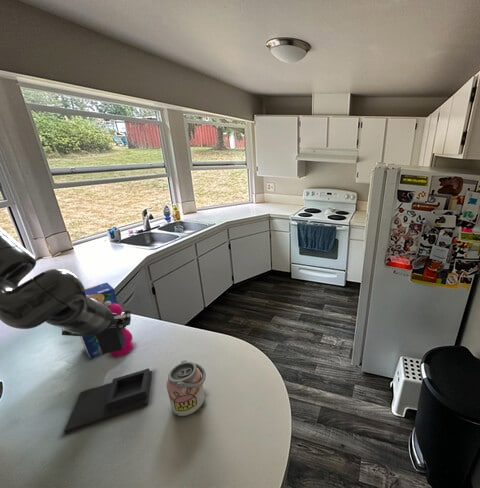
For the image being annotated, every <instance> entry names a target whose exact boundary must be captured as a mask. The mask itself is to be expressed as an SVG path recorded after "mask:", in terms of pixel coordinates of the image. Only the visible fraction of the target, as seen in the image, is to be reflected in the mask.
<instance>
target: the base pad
mask: <svg viewBox="0 0 480 488" xmlns="http://www.w3.org/2000/svg"><path fill="white" fill-rule="evenodd" d="M152 379H153V371H152V370H150V368H146V369H141V370H139V371H136V372H131V373H129V374H125V375H122V376H119V377H115V378H113V379H112V381H111V382H109V383H106V384H102V385H99V386H95V387H92V388H89V389H85V390H82V391H80V393H79V395H78V398H77V400H76V402H75V405H74V407H73V410H72V411H71V414H70V416H69V419H68V421H67V423H66V425H65V428H64V430H63V432H64V434H69V433H71V432H74V431H77V430H81V429H83V428H85V427H88V426H92V425H95V424H97V423H100V422H103V421H106V420H108V419H113V418H114V417H117V416H120V415H123V414H126V413H129V412H131V411H135V410H137V409H140V408H143V407H146V406H148V405H149V398H150V393H151V386H152Z"/></svg>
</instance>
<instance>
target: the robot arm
mask: <svg viewBox="0 0 480 488" xmlns="http://www.w3.org/2000/svg"><path fill="white" fill-rule="evenodd" d="M36 266H37V259H36V257H35V256H34V255H33V254H32V253H31V252H30V251H29V250H27V249H26V248H25V247H24V246H22V245H21V244H20V243H19V242H18V241H17V240H16V239H15V238H13V237H12V236H11V235H10V234H9V233H8V232H6V230H4V229H3V228H2V227H1V226H0V321H1V322H2V323H4V324H5V325H7V326H8V327H11V328H14V329H18V330H19V329H20V330H30V329H34V328H37V327H40V326H41V325H42V324H44V323H46V324H48V325H51V326H54V327H57V328H60V329H61V336H68V337H69V336H71V337H80V336H92V335H96V334H98V333H100V332H102V331H103V330H105V329H114V328H118V329H120V330H122V329H124V327H125V328H126V327H128V326H129V325H131V321H132V318H131V317H132V316H131V310H126V311H124V312H122V314H121V315H117V314H116V313H112V312H111V310H110V309H109V308H108V307H106V306H105V305H103V304H101V303H100V302H98V301H97V300H95V299H92V298H89V297H88V296H86V292H85V289H86V288H85V286H84V284H83V283H82V281H81V279H80V278H79V277H78V276H77V275H76V274H74V273H73V272H71V271H69V270H68V269H63V268H52V269H46V270H44V271H42V272H40V273H38V274H37V275H35V276H33V277H32V278H30V279H28V280H26V281H25V282H23V283H21V281H22V280H23V279H24V278H26V277H27V276H28V274H30V273H31V272H32V271H33V270H34V269H35V267H36ZM20 283H21V284H20ZM19 284H20V285H19Z"/></svg>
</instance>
